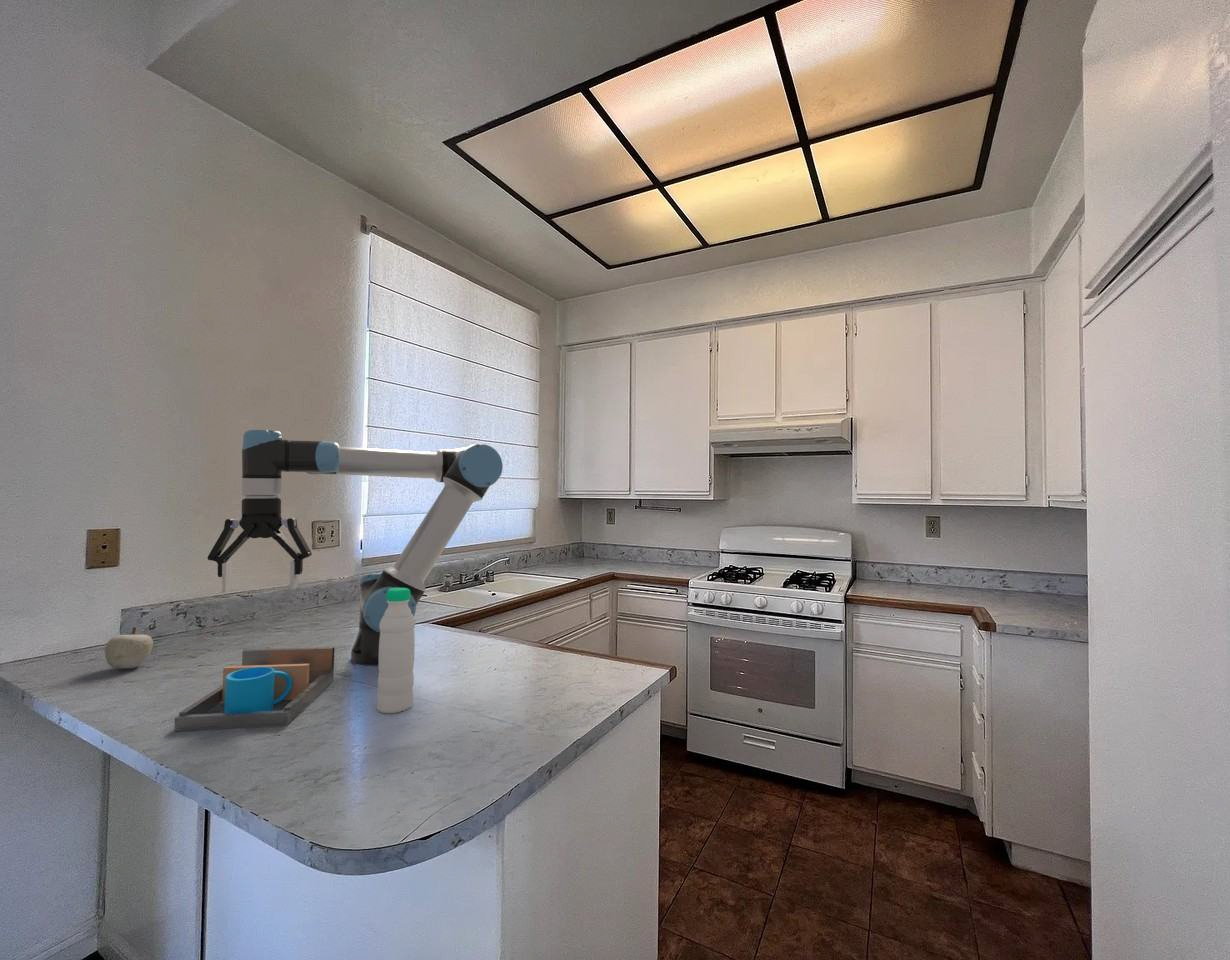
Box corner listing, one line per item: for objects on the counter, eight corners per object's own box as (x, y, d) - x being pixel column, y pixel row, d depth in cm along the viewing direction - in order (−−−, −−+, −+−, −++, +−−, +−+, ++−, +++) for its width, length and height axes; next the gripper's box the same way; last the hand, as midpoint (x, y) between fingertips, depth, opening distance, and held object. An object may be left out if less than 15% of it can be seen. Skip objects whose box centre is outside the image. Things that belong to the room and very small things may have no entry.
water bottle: (377, 717, 105) (381, 593, 106) (375, 704, 111) (379, 587, 112) (414, 711, 108) (418, 590, 109) (411, 699, 115) (414, 585, 115)
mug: (232, 726, 100) (234, 683, 100) (217, 715, 105) (219, 674, 105) (300, 706, 110) (301, 667, 110) (283, 697, 115) (284, 659, 115)
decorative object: (102, 677, 124) (104, 635, 125) (105, 667, 131) (107, 627, 131) (152, 669, 130) (153, 629, 130) (152, 660, 137) (154, 622, 137)
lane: (333, 680, 125) (334, 646, 125) (287, 725, 101) (288, 683, 101) (243, 684, 121) (245, 649, 122) (174, 731, 97) (176, 688, 98)
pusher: (313, 691, 117) (315, 659, 117) (306, 698, 113) (307, 665, 113) (233, 694, 114) (234, 661, 114) (222, 702, 110) (223, 668, 110)
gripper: (326, 496, 126) (325, 584, 126) (207, 497, 120) (206, 589, 120) (316, 497, 119) (315, 590, 119) (189, 497, 113) (188, 595, 113)
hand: (260, 590), depth 119 cm, fingers open, 13 cm apart
